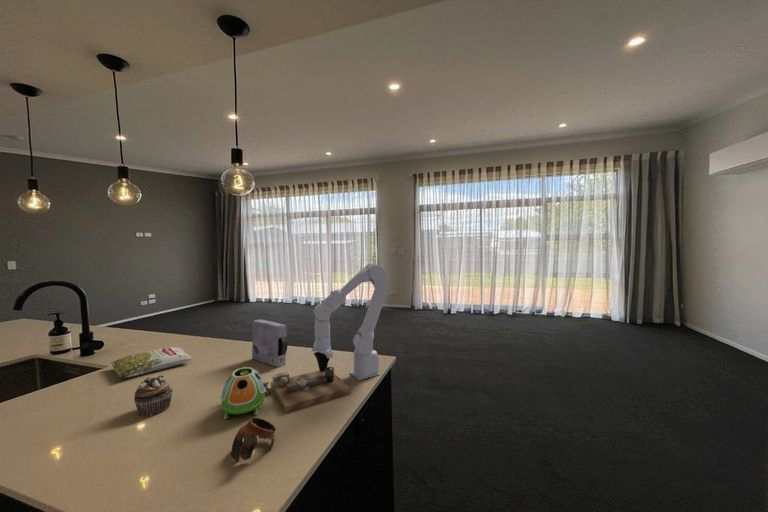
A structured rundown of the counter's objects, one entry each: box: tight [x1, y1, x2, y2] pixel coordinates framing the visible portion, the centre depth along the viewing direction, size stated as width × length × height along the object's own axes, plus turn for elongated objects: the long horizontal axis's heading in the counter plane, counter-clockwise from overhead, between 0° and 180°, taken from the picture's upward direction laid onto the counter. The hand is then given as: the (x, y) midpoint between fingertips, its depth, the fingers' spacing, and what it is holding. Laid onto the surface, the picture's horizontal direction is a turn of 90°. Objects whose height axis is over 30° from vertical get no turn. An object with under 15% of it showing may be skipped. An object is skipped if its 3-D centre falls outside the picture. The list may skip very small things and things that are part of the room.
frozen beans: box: [110, 346, 194, 378], centre depth 129 cm, size 21×6×25 cm
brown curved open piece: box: [230, 417, 277, 463], centre depth 74 cm, size 12×10×8 cm
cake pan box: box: [251, 318, 288, 368], centre depth 133 cm, size 19×5×18 cm, turn 58°
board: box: [270, 369, 352, 414], centre depth 106 cm, size 22×20×5 cm
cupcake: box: [133, 375, 174, 418], centre depth 94 cm, size 10×10×10 cm
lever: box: [287, 366, 335, 392], centre depth 105 cm, size 17×4×4 cm, turn 123°
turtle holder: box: [220, 366, 266, 420], centre depth 96 cm, size 12×18×12 cm
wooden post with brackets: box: [263, 381, 272, 395], centre depth 101 cm, size 2×8×4 cm, turn 124°
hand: (323, 371), depth 114 cm, fingers closed
